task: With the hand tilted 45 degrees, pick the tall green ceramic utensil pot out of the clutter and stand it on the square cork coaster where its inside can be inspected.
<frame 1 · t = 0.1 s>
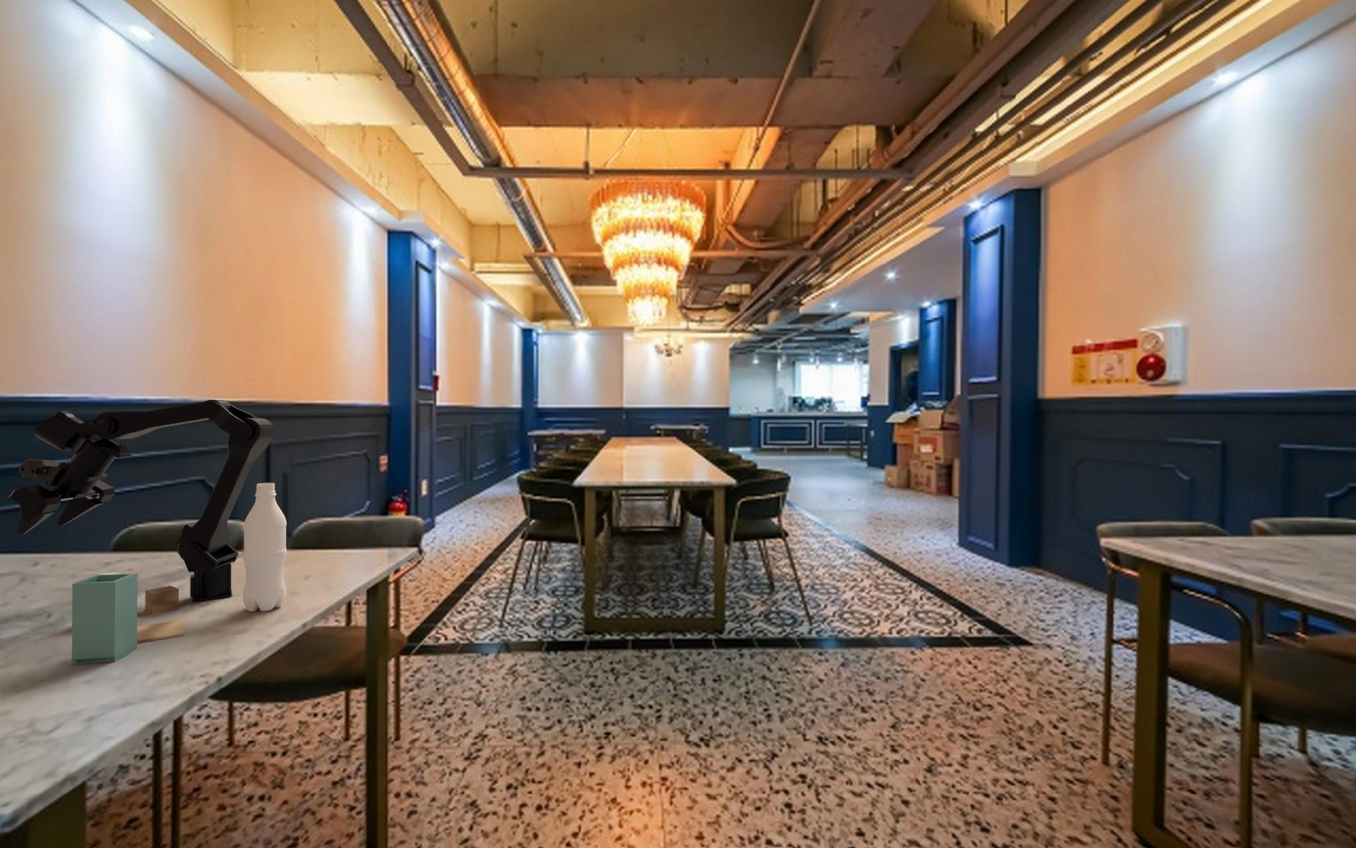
hand: (40, 529, 122), 15 cm above the table, tool tilted 35°, fingers open, 9 cm apart
water bottle: (264, 609, 120), on the table
walnut block: (162, 609, 119), on the table
coaster: (150, 633, 106), on the table
supplement bottle: (105, 621, 112), on the table
pot: (105, 656, 96), on the table
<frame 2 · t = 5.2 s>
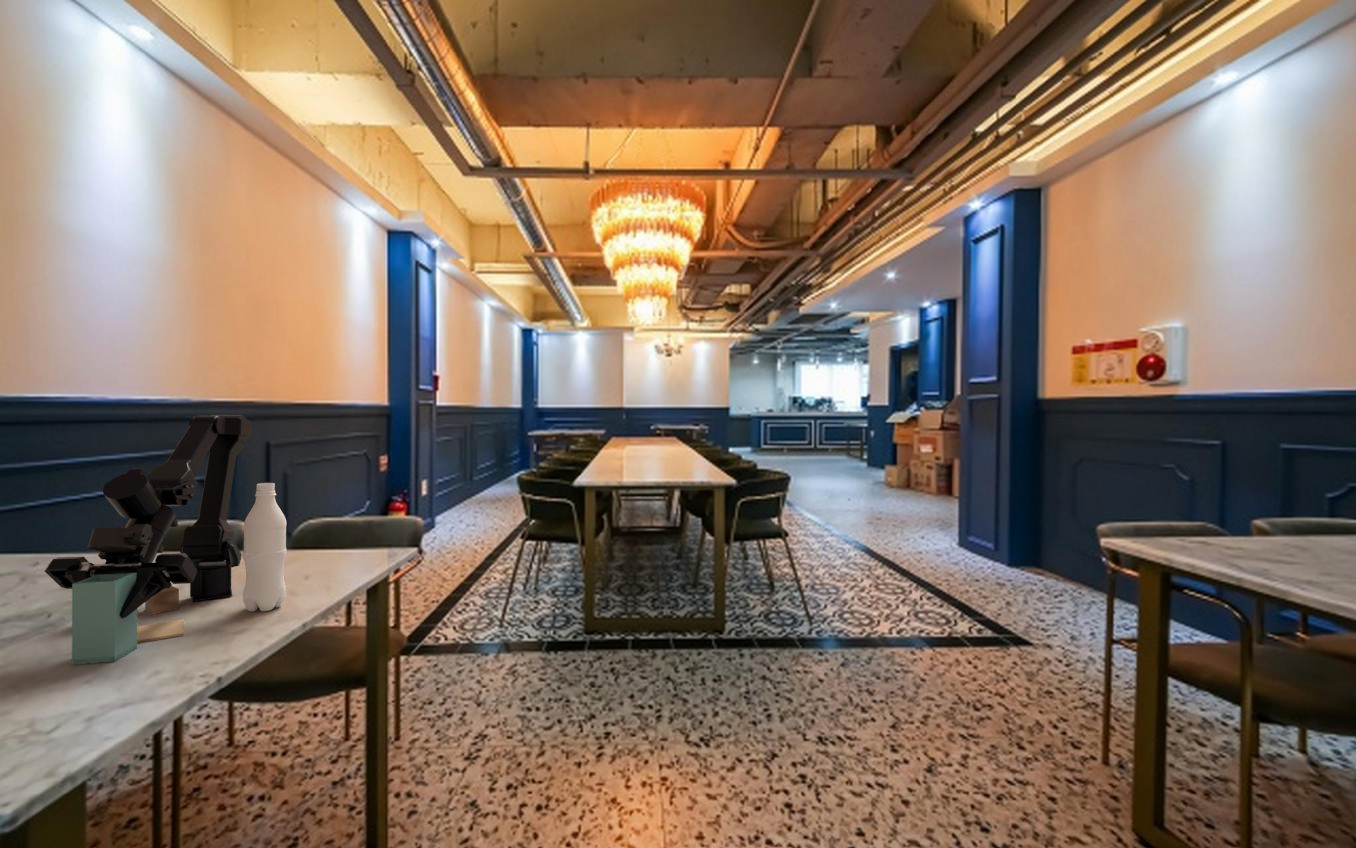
hand: (99, 618, 94), 7 cm above the table, tool tilted 45°, fingers closed on pot, 5 cm apart
pot: (105, 656, 96), on the table, touching gripper
everything else where it was.
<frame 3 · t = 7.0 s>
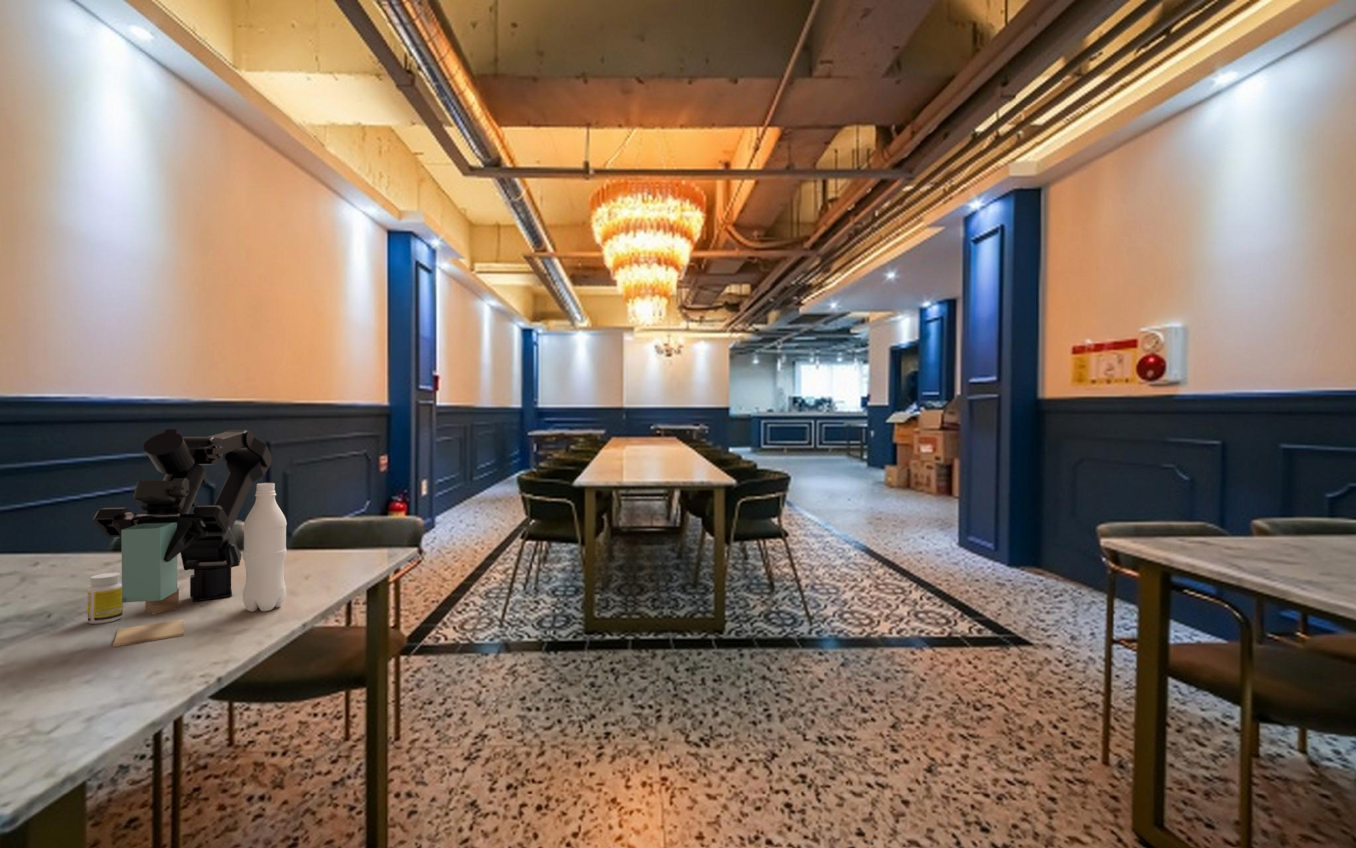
hand: (145, 561, 104), 13 cm above the table, tool tilted 45°, fingers closed on pot, 5 cm apart
pot: (150, 596, 106), point 7 cm above the table, touching gripper
everything else where it was.
when the fingers open (8 cm above the table, at t = 8.7 s): pot stays where it is, resting on coaster.
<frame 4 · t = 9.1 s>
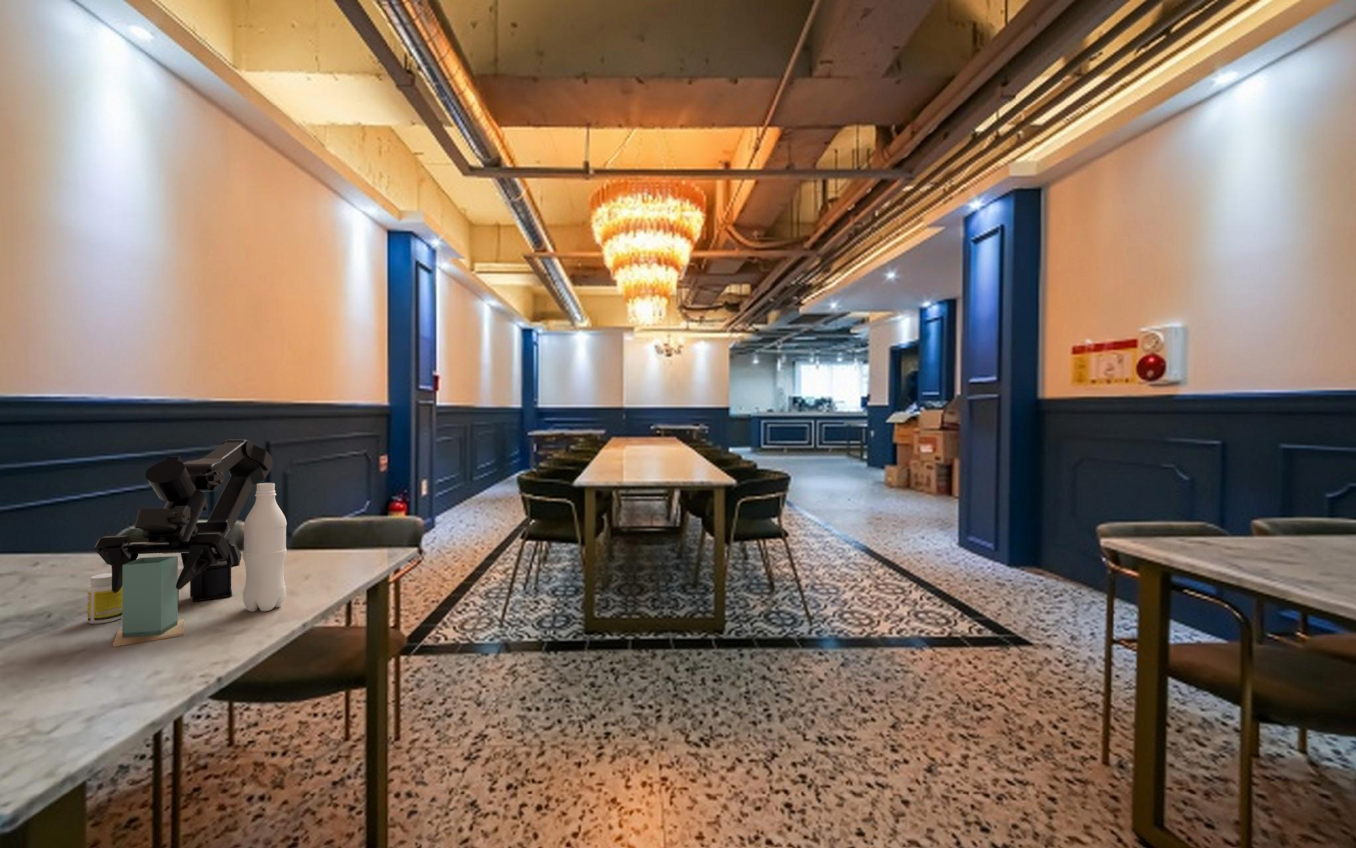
hand: (146, 590, 104), 8 cm above the table, tool tilted 45°, fingers open, 9 cm apart
pot: (150, 631, 106), resting on coaster
everything else where it was.
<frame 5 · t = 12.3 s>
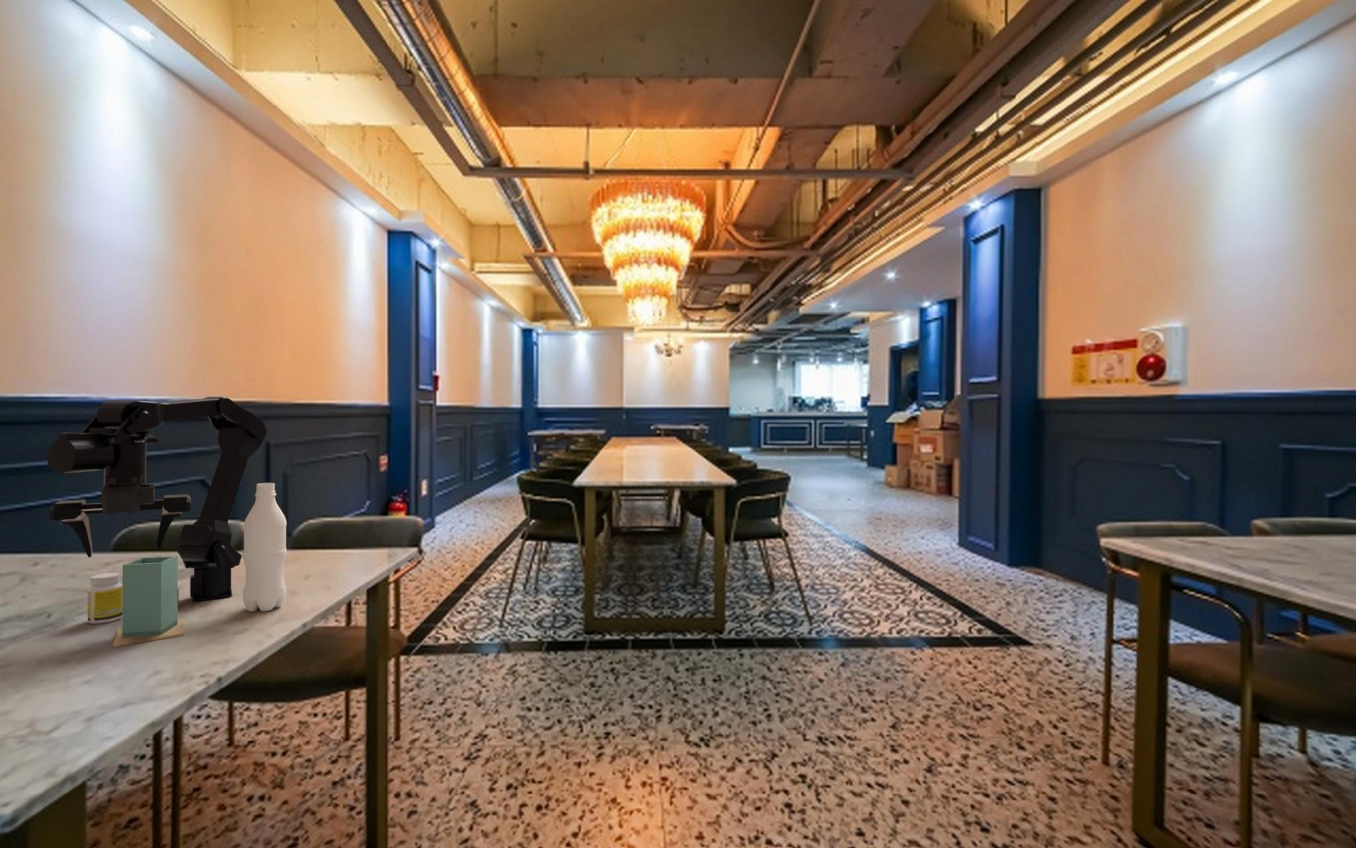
hand: (124, 553, 110), 13 cm above the table, tool pointing down, fingers open, 9 cm apart
nothing on the table moved.
at the end: pot inside the target area on the coaster (0.1 cm from its centre), point 0.4 cm above the coaster's base; pot tilted 0°; the gripper is holding nothing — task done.
